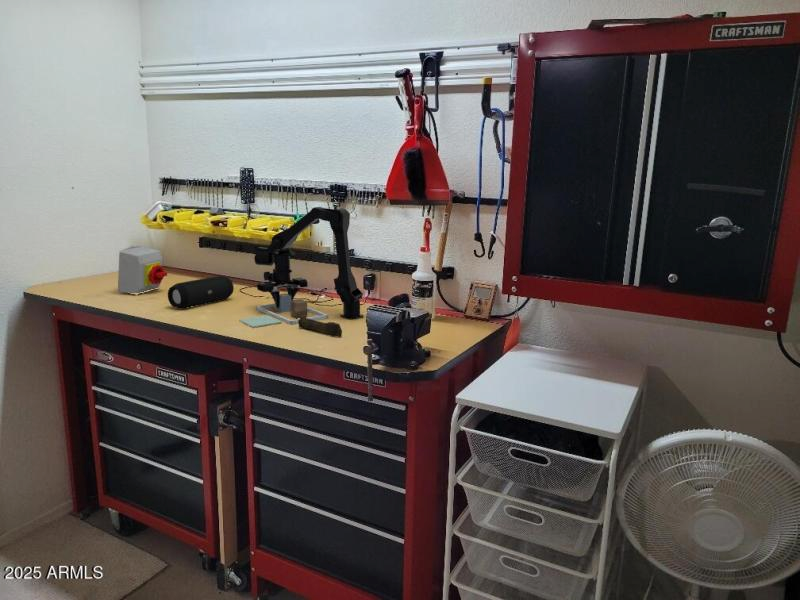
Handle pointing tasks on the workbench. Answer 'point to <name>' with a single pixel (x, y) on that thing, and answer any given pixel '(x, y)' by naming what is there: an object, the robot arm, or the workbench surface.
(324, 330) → the hand tool
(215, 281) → the portable speaker
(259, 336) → the workbench surface
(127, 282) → the electrical switch box
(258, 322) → the mat
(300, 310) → the plain box
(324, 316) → the flat rectangular frame
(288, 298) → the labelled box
